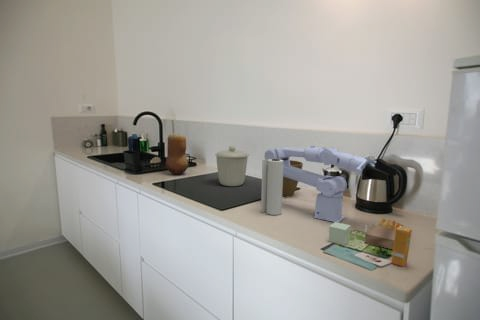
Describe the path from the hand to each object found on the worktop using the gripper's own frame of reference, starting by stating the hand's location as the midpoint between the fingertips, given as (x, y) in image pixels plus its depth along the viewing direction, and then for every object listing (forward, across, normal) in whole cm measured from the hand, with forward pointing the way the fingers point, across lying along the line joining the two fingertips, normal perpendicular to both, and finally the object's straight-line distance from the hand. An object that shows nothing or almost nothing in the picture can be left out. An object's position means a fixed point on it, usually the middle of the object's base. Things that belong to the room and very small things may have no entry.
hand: (392, 175), depth 103 cm
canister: (-80, +7, +34) cm, 88 cm away
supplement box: (+13, -20, +17) cm, 30 cm away
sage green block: (-5, -19, +20) cm, 28 cm away
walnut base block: (+5, -9, +19) cm, 21 cm away
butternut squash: (-121, 0, +40) cm, 128 cm away
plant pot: (-48, +12, +29) cm, 57 cm away
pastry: (+4, +2, +20) cm, 21 cm away
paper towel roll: (-36, -13, +25) cm, 46 cm away
